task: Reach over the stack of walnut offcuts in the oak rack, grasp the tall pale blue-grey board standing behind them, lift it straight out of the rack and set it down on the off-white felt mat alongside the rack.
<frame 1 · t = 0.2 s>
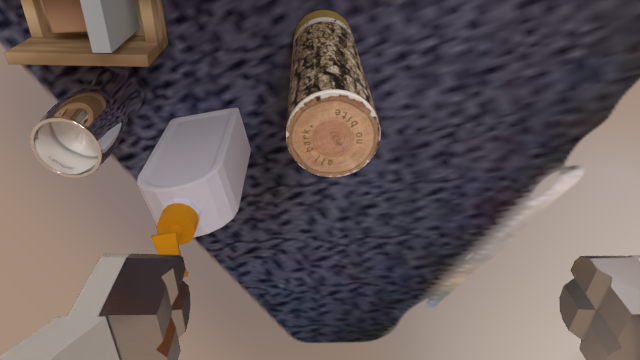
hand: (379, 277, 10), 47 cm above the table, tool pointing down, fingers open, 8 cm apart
beer glass: (119, 89, 57), on the table
soap bottle: (213, 135, 61), on the table
brown bark cylinder: (322, 37, 54), on the table
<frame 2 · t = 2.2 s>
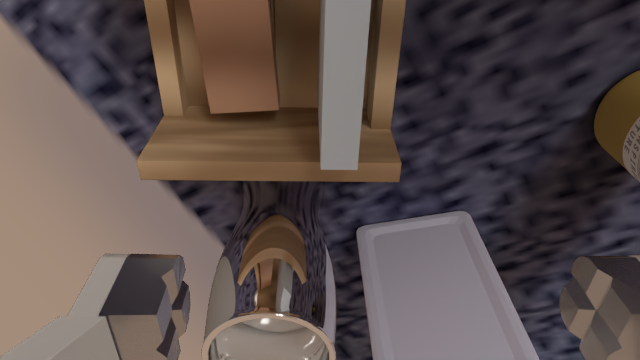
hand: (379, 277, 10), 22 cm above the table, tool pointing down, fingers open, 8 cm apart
beer glass: (283, 186, 35), on the table
soap bottle: (413, 247, 39), on the table
offcut b: (238, 31, 26), point 3 cm above the table, touching offcut a
grey block: (334, 17, 27), point 1 cm above the table, touching rack
brown bark cylinder: (637, 107, 32), on the table
rack: (276, 11, 28), on the table
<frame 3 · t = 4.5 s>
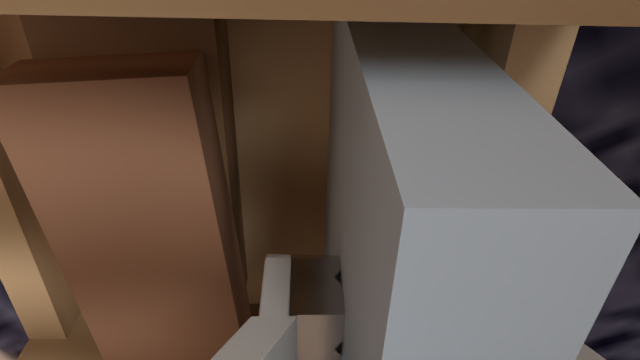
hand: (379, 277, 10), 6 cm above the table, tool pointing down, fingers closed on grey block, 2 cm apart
offcut b: (156, 210, 12), point 3 cm above the table, touching offcut a
grey block: (358, 165, 14), point 1 cm above the table, touching gripper, rack
offcut a: (168, 163, 13), point 1 cm above the table, touching offcut b, rack
rack: (242, 147, 14), on the table
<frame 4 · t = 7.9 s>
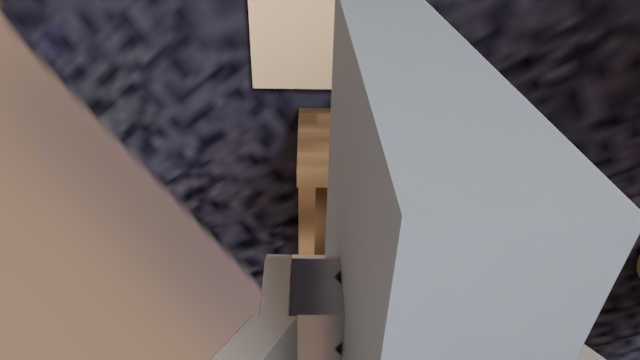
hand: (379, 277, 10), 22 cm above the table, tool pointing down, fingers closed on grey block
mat: (331, 17, 28), on the table
grey block: (358, 167, 14), point 18 cm above the table, touching gripper
rack: (390, 193, 36), on the table
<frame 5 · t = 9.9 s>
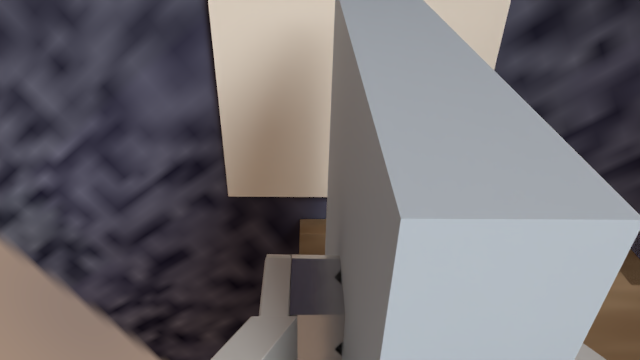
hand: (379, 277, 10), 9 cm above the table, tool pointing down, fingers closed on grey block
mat: (352, 94, 18), on the table
grey block: (358, 168, 14), point 5 cm above the table, touching gripper
rack: (430, 322, 25), on the table
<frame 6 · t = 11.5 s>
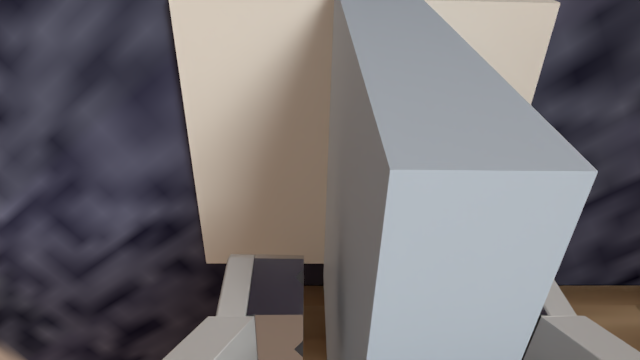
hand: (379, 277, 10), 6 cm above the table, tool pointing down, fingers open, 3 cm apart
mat: (354, 147, 15), on the table
grey block: (357, 156, 14), resting on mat
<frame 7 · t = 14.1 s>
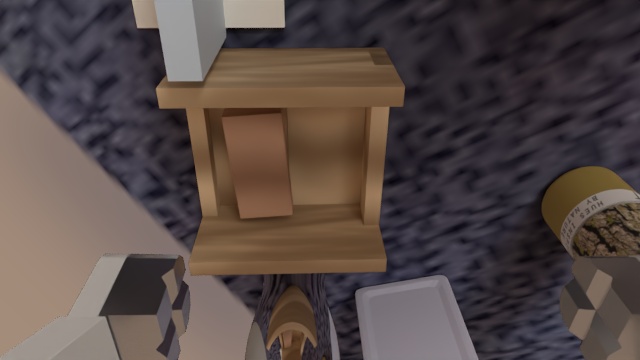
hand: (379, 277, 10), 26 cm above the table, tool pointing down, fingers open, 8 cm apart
beer glass: (294, 259, 43), on the table
soap bottle: (402, 303, 47), on the table
offcut b: (261, 158, 35), point 3 cm above the table, touching offcut a
brown bark cylinder: (576, 194, 41), on the table
rack: (288, 136, 37), on the table
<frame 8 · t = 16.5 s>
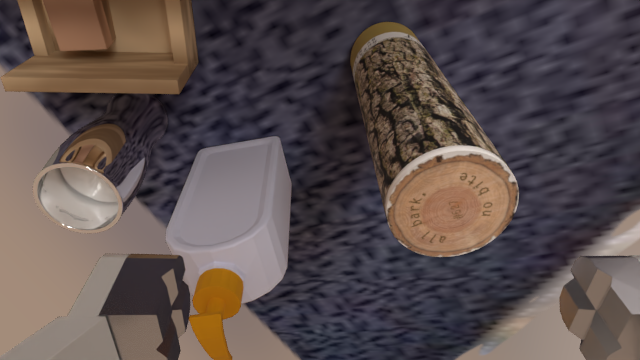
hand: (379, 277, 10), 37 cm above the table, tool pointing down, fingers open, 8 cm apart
beer glass: (139, 115, 48), on the table
soap bottle: (247, 167, 52), on the table
brown bark cylinder: (384, 55, 45), on the table
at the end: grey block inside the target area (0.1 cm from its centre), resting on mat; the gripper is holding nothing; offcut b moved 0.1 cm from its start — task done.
